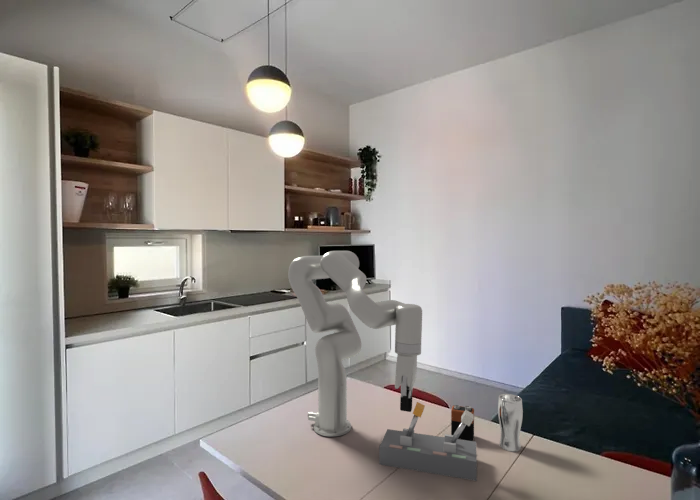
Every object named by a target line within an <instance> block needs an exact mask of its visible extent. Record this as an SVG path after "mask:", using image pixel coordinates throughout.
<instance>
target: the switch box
mask: <svg viewBox="0 0 700 500" xmlns="http://www.w3.org/2000/svg"><path fill="white" fill-rule="evenodd" d="M408 429H409V428H402V430H396V429H388V428H387V430H386V431H385V434H384V436H383V438H382V440H381V443H380V444H379V448H378V449H379V453H378V454H379V457H378V458H379V463H378V464H379V465H382V466H387V467H393V468H399V469H405V470H411V471H418V472H422V473H428V474H433V475H440V476H445V477H452V478H456V479H457V478H458V479H464V480H469V481H474V482H475V481H476V482H477V480H478V479H477V478H478V477H477V473H478V472H477V471H478V470H477V467H478V466H477V465H478V464H477V462H478V460H477V459H478V458H477V441H474V440H473V441H467V440H462V439H457V440H456V442H455V443H449V441H450V439H451V438H452V436H453V435H451V434H446V433H445V434H444V436H437V435H431V434H424V433H418V432H415V429H414V430H413V433H412V435H411V437H408V436H406V434H407V432H408Z"/></svg>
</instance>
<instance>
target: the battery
mask: <svg viewBox="0 0 700 500" xmlns="http://www.w3.org/2000/svg"><path fill="white" fill-rule="evenodd" d="M465 410H467V411H469V412H470V413H472V414H473V415H474V416H475V409H474V408H473V407H472V406H470V405H464V406H463V405H461V406H460V405H459V404H454V405H452V406H451V411H450V418H451V419H450V421H451V422H450V426H451V427H450V430H451V431H450V432H451V433H450V435H454V433H455V432H456V430H457V428H458V427H459V425H460V424H461V422H462V421H461V416H462V415H463V413H464V411H465ZM474 437H475V419H474V420H473V421H472V423H471V424H470V426H468V425H466V426H465V428H464V429H463V431H462V432H461V434H460V436H459V437H458V439H460V440H467V441H474Z"/></svg>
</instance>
